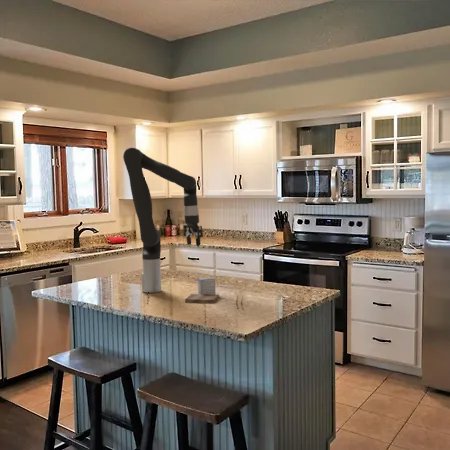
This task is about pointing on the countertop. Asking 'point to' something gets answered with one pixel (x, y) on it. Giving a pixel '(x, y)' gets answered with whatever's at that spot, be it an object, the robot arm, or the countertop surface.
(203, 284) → the medicine box
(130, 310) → the countertop surface
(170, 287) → the countertop surface
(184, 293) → the countertop surface
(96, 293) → the countertop surface
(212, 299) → the board
